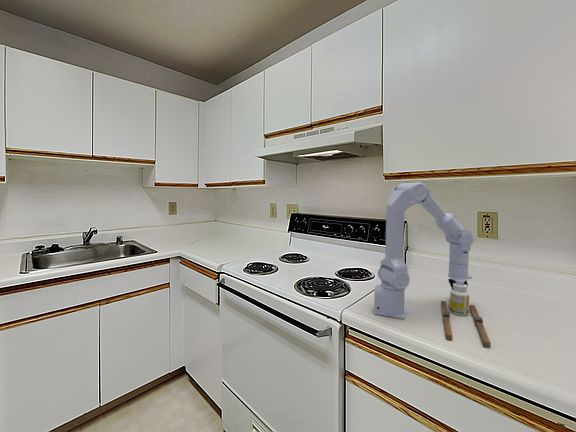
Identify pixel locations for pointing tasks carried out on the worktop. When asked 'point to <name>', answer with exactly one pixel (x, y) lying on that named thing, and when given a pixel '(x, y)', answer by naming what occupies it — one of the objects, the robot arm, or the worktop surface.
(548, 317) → the worktop surface
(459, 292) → the supplement bottle
